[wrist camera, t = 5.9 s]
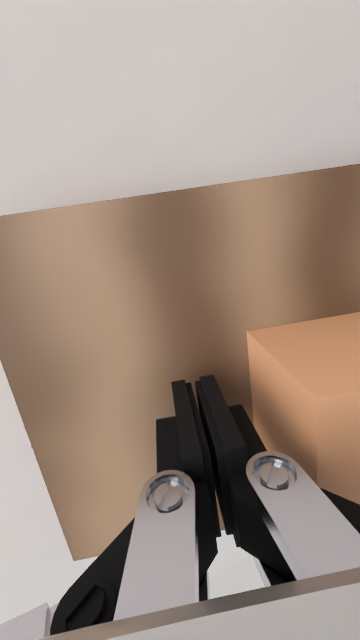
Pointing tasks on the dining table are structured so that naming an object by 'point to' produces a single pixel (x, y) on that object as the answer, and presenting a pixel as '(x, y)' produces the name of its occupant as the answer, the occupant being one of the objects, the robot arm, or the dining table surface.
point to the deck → (157, 319)
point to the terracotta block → (311, 397)
